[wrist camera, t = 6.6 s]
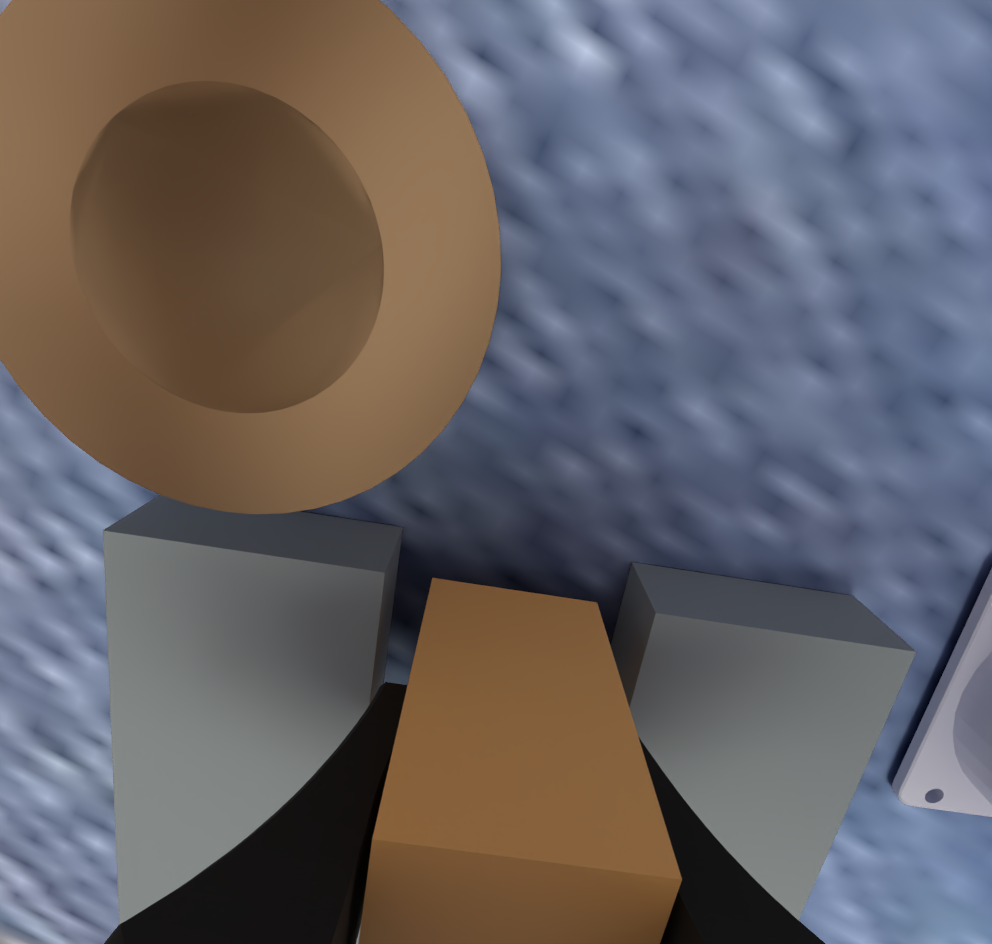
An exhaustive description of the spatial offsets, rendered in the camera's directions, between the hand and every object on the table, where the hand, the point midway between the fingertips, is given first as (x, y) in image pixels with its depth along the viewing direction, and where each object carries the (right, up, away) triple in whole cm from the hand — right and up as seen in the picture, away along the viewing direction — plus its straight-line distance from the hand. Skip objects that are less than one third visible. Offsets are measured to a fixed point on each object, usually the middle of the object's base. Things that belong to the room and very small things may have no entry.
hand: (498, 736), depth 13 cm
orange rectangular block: (0, +1, +2) cm, 2 cm away
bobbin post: (-3, +10, 0) cm, 11 cm away
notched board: (0, -2, +4) cm, 5 cm away
